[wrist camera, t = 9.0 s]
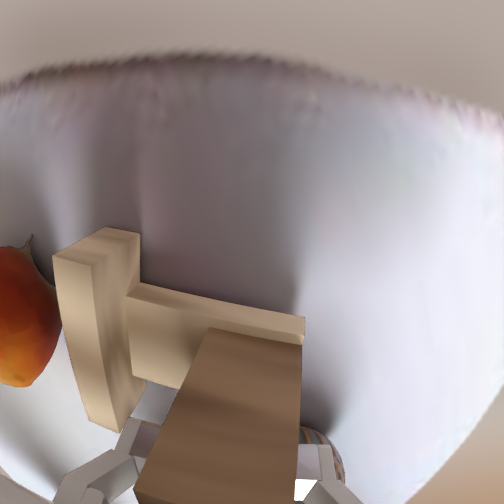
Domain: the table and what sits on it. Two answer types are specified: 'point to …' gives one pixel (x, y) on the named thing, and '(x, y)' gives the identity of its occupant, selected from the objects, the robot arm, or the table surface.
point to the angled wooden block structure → (184, 376)
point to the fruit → (25, 318)
